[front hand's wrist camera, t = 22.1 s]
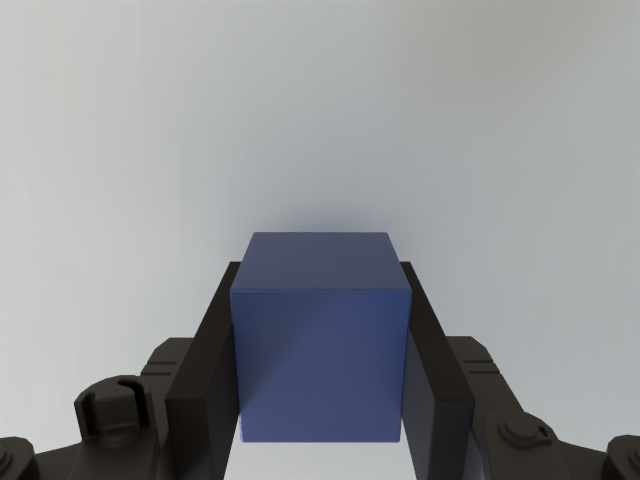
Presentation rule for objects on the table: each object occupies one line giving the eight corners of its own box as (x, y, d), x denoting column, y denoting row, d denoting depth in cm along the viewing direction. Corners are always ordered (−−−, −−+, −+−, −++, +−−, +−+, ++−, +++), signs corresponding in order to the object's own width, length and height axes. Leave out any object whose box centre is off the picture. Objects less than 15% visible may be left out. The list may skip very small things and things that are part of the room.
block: (253, 231, 14) (228, 289, 10) (387, 232, 14) (412, 289, 10) (259, 353, 16) (240, 443, 12) (380, 354, 16) (400, 443, 12)
